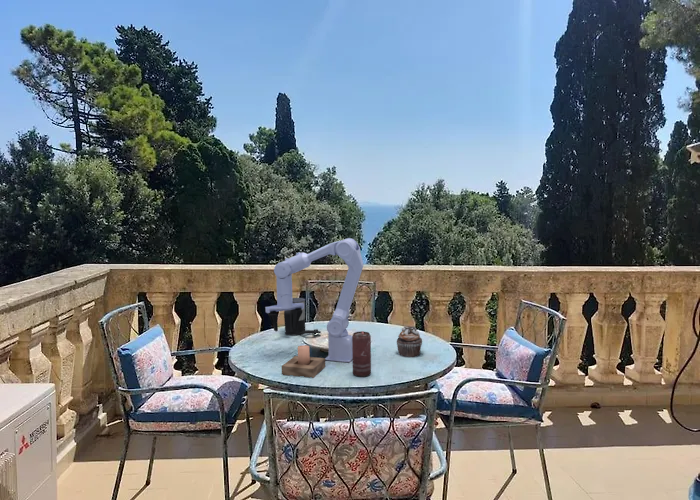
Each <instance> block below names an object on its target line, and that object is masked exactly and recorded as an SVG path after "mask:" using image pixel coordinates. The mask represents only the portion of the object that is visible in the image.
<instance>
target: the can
mask: <svg viewBox="0 0 700 500" xmlns="http://www.w3.org/2000/svg"><path fill="white" fill-rule="evenodd" d="M371 337H372V336H371V334H370V333H369V332H368V331H363V330H362V331H355V332H353V333H352V354H353V359H352V374H353V375H354V376H355V377H357V378H366V377H369V376H370V375H371V374H372V346H371V345H372V338H371Z"/></svg>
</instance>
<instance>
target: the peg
mask: <svg viewBox="0 0 700 500" xmlns="http://www.w3.org/2000/svg"><path fill="white" fill-rule="evenodd" d="M310 354H311V353H310V345H307V344H306V345H305V344H302V345H299V346H297V356H298V364H299V365H309V364H310V357H311V356H310Z"/></svg>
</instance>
